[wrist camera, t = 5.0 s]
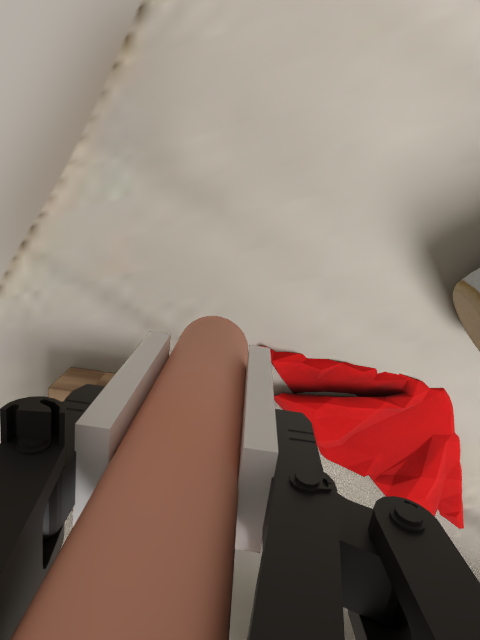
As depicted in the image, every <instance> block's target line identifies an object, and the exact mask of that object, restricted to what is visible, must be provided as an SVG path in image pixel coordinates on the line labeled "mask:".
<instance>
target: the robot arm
mask: <svg viewBox="0 0 480 640" xmlns="http://www.w3.org/2000/svg"><path fill="white" fill-rule="evenodd" d="M170 337H171V334H168V333H161V332H154V331H150V332H149V333H148V335H147V336H146V337H145V338H144V339H143V341H142V342H141V343H140V344H139V346H138V347H137V348H136V349H135V351H134V352H133V353H132V354H131V356H130V357H129V358H128V359H127V360H126V362H125V363H124V364H123V365H122V367H121V368H120V369H119V370H118V372H117V373H116V374H115V375H114V377H113V378H112V379H111V380H110V381H109V383H108V384H107V385H106V386H100V385H93V384H86V385H84V386H81V387H79V388H77V389H75V390H73V391H72V392H71V393H70V394H69V395H68V396H67V397H66V398H65V400H64V401H62V402H61V401H59V400H57V399H55V398H50V397H44V396H43V397H27V398H22V399H18V400H15V401H12V402H10V403H7V404H6V405H5V406H3V407H2V408H1V409H0V423H1V444H0V640H10V639H11V637H12V635H13V633H14V631H15V630H16V628H17V626H18V624H19V623H20V621H21V619H22V617H23V615H24V614H25V612H26V610H27V608H28V607H29V605H30V603H31V601H32V599H33V598H34V596H35V594H36V592H37V591H38V589H39V587H40V585H41V583H42V582H43V580H44V578H45V576H46V575H47V573H48V571H49V569H50V567H51V566H52V564H53V562H54V560H55V559H56V557H57V555H58V553H59V551H60V549H61V546H62V543H63V539H64V522H65V520H66V519H67V517H68V515H69V514H70V512H71V510H72V508H73V526H74V525H75V523H76V521H77V519H78V518H79V516H80V514H81V512H82V511H83V509H84V507H85V505H86V503H87V502H88V500H89V498H90V496H91V495H92V493H93V491H94V489H95V487H96V486H97V484H98V482H99V480H100V479H101V477H102V475H103V473H104V471H105V470H106V468H107V466H108V464H109V463H110V461H111V459H112V457H113V455H114V454H115V452H116V450H117V448H118V447H119V445H120V443H121V441H122V439H123V438H124V436H125V434H126V432H127V431H128V429H129V427H130V425H131V423H132V422H133V420H134V418H135V416H136V415H137V413H138V411H139V409H140V407H141V406H142V404H143V402H144V400H145V399H146V397H147V395H148V393H149V392H150V390H151V388H152V386H153V384H154V383H155V381H156V379H157V377H158V376H159V374H160V372H161V370H162V368H163V367H164V365H165V363H166V361H167V360H168V358H169V348H170ZM238 492H239V494H238V509H237V524H236V539H235V549H237V550H244V551H251V552H258V553H260V550H261V544H262V541H263V552H262V558H261V563H260V568H259V574H258V579H257V585H256V590H255V597H254V603H253V609H252V614H251V620H250V626H249V631H248V637H247V640H345V638H344V619H343V607H345V608H347V609H348V614H349V618H350V621H351V624H352V627H353V631H354V634H355V637H356V640H480V583H479V581H478V580H477V578H476V577H475V575H474V574H473V572H472V571H471V569H470V568H469V566H468V565H467V563H466V562H465V560H464V559H463V557H462V556H461V554H460V553H459V551H458V550H457V548H456V547H455V545H454V544H453V542H452V541H451V539H450V538H449V536H448V535H447V533H446V532H445V530H444V529H443V527H442V526H441V524H440V523H439V521H438V520H437V519H436V518H435V517H434V516H433V515H432V514H431V513H430V512H429V511H428V510H427V509H425V508H424V507H422V506H421V505H419V504H417V503H415V502H413V501H411V500H408V499H406V498H401V497H396V496H388V497H382V498H381V499H379V500H377V501H376V503H375V506H374V508H373V509H371V508H368V507H366V506H363V505H360V504H357V503H355V502H352V501H350V500H348V499H346V498H344V497H343V496H341V495H340V494H338V493H337V489H336V486H335V483H334V481H333V480H332V479H331V478H330V477H329V475H328V474H326V473H324V472H323V468H322V464H321V460H320V456H319V451H318V447H317V444H316V439H315V435H314V430H313V426H312V422H311V421H310V420H309V419H308V418H307V417H306V416H305V415H304V414H303V413H301V412H294V411H287V410H280V409H275V404H274V391H273V378H272V366H271V353H270V348H268V347H261V346H254V345H250V346H249V352H248V359H247V366H246V377H245V391H244V405H243V419H242V433H241V447H240V461H239V475H238Z"/></svg>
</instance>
